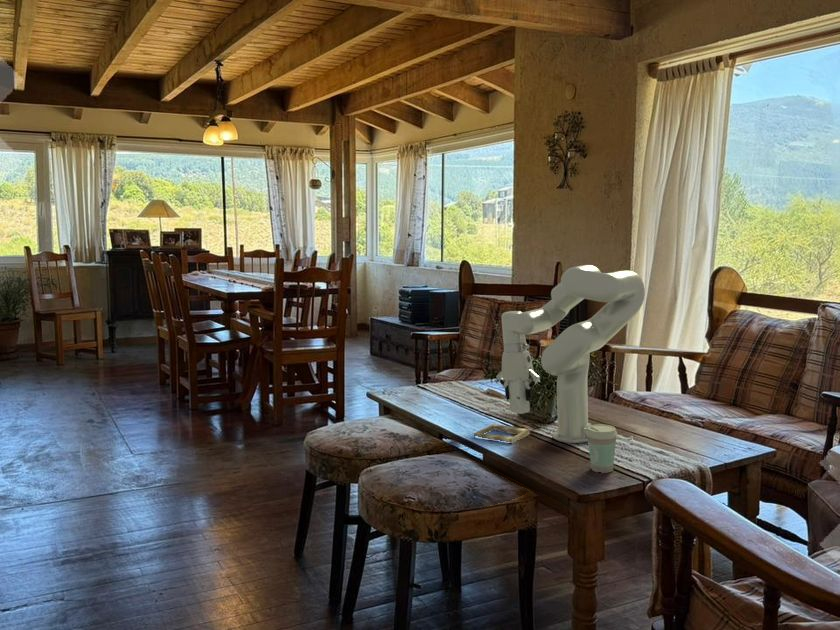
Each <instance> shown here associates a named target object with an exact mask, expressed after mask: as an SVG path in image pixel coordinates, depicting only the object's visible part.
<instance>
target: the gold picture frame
mask: <svg viewBox="0 0 840 630" xmlns="http://www.w3.org/2000/svg"><path fill="white" fill-rule="evenodd" d="M493 429H494V430H493ZM491 430H493V431H496V430H500V431H499V432H502V431H505V432H504V433H507V434H510V433H511V434H510V435H513V436H509V435H501V434H490V432H489V431H491ZM486 432H489V433H487V434H484V433H486ZM491 432H492V431H491ZM530 433H531V430H530V429H529V428H521V427H516V426H515V427H514V426H508V425H503V424H495V423H492V424H490V425H488V426H486V427H484V428H482V429H481V430H478V431H476V432H475V433H474V434H473V435H474V436H478V437H482V438H488V439H494V440H500V441H506V442H511V443H513V442H515V441H517V440H519V441H520V439H521V440H522V439H524V438H526V437H527V436H529V435H530ZM516 434H517V435H516ZM474 436H473V437H474ZM517 442H518V441H517ZM515 443H516V442H515Z"/></svg>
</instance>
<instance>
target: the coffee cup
mask: <svg viewBox="0 0 840 630" xmlns="http://www.w3.org/2000/svg"><path fill="white" fill-rule="evenodd" d="M618 435H619V434H618V431H617V429H616V427H615V426H613V425H609V424H601V423H599V424H591V426H589V427H588V429H587V431H586V436H587V439H588V441H587V444H588V451H589V459H590V465H591V466H590V467H591V470H592V471H593V472H594V473H595V472H596V473H598V472H601V473H600V474H607V473H610V472H612V471H613V470H614V465H615V464H614V463H615V454H616V453H615V452H616V444H617V443H616V442H617V437H618Z"/></svg>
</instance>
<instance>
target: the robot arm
mask: <svg viewBox="0 0 840 630" xmlns="http://www.w3.org/2000/svg"><path fill="white" fill-rule="evenodd" d="M645 290H646V289H645V284H644V281H643V279H642V278H641V276H640V275H639V274H638V273H636V272H635V271H632V270H617V271H612V272H607V273H606V272H601V270H600V269H599V268H598V267H597V266H594V265H592V264H584V265H583V264H582V265H577V266H573V267H572V266H571V267H569V268H568V269H566V270H565V271H564V272H563V273H562V275H561V278H560V282H559V283H558V284H557V285H556V286H554V287H553V288H552V289H551V292H550V297H551V299H550V300H549V301H548V302H547V303H545V304H544V305H543V306H542V307H541V306H540V308H536V309H531V310H527V311H523V312H522V311H520V310H510V311H505V312H503V313H502V314H501V329H502V341H503V352H502V356H501V371H499V372H498V373H497V375H495V376H496V379H497V380H498V382H499V383H500V385H502V387H503V389H504V392H505V393H504V394H505V399H506V401H508V400H509V384H508V383H509V381H515V379H516V378H520V379H521V381H522V382H524V384H525V386H526V387H527V389H526V400H527V401H529V402H530V401H531V400H533V397H534V393H533V388H534V387H535V386H536V384H537V383H538V381H540V379H541V377H540V375H538V374H537V373H536V372H535V370H534V366H533V365H534V364H533V360H532V356H531V353H530V351H529V350H528V349H530V344H528V343H527V340H526V335H533V334H536V333H541V332H545V331H547V330H549V329H551V328H552V327H554V326H555V325H556V324H557V323H559V322H560V321H562V320H563V319H564V318H565V317H566V316H567V315H568V314H569V313H570V310H572V309H573V308H574V307H575V306H577V305H579V303H580V302H582V301H583V300H590V301H594V302H600V303H605V304H604V305H603V306H602V307H601V308H600V309H599V310H598V311H597V312H596V313H595V314H594V315H592V317H591V318H589V319H587V320H584V321H580V322H577V323H574V324H571V325H570V326H568V327H566V328H565V329H564V330H563V331H562V332H561V333H560V334H559V335H558V336H557V337H555V339H554V340H553V341H551V342H550V343H549V344H548V345H547V346H546V348H544V350H543V352H542V354H541V361H540V362H541V363H540V364H541V366H542V369H543V370H544V371H545V372H546V373H547V374H549V375H552V376H557V378H556V379H557V380H556V400H557V401H556V403H557V430H555V431H554V432H553V433H552V434H553V435H552V437H553V439H554V440H556V441H558V442H563V443H567V444H580V443H586V442H587V443H588V439H587V436H586V431H587V429H588V427H589V426H591V425H592V423H590V422H589V409H588V407H589V402H588V397H589V396H588V374H589V367H590V360H591V359H590V358H591V355H590V353H593V352H596V351H598V350H600V349H601V348H603V347H604V346H605V345H606V344H607V343H608V342H609V341H610V340H611V339H612V338H613V337H614V336H616V334H618V333H619V332H620V331H621V330H622V329H623V328H624V327H625V326H626V325H627V324H628V323H629V322H630V321H632V319H634V318H635V316H636V315H637V314H638V312H639V310H640V309H642V308H641V307H642V306H643V303H644V301H645V295H646V291H645Z"/></svg>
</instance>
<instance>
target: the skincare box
mask: <svg viewBox="0 0 840 630" xmlns="http://www.w3.org/2000/svg"><path fill="white" fill-rule="evenodd" d="M508 384H509V411H510V412H511V413H515V414H518V415H520V414H523V415H524V414H526V413H530V411H531V409H530V401H527V400H526V389H527V387H526V386H525V384H524V382H522V381H521V379H520V378H516V379H515V381H509V383H508Z"/></svg>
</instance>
